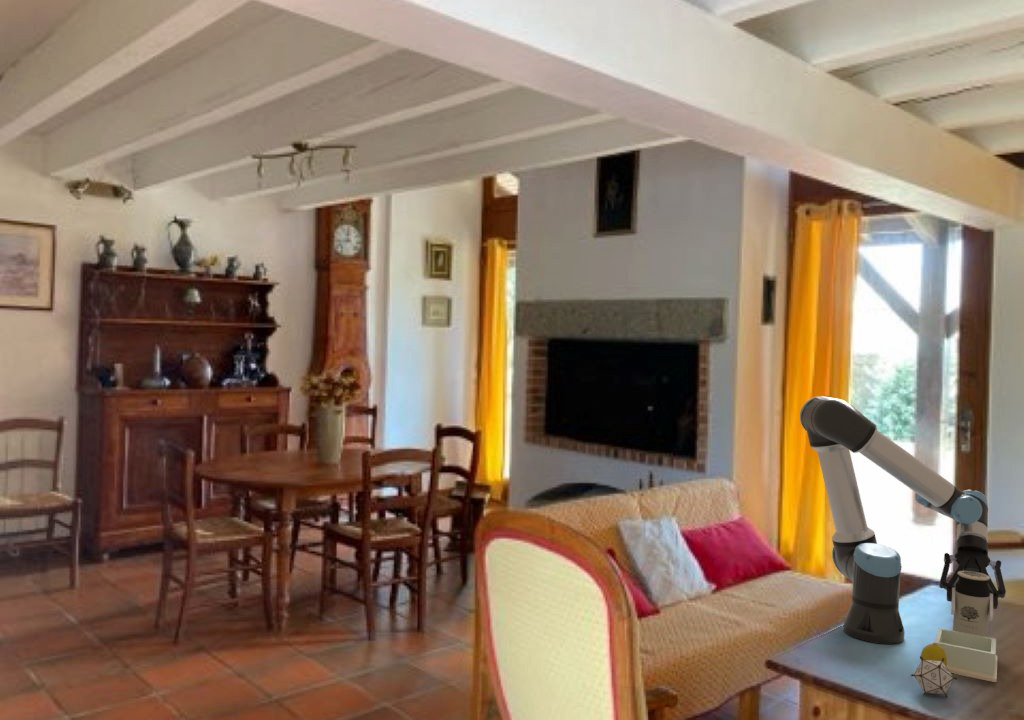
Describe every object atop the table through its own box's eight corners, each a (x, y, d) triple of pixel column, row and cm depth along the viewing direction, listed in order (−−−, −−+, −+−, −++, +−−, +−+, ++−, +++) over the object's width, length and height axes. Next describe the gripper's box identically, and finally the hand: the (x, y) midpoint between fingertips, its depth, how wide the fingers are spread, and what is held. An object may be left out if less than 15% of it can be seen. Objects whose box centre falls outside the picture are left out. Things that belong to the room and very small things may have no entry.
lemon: (923, 669, 204) (925, 637, 204) (948, 676, 200) (950, 643, 200) (917, 676, 199) (919, 642, 199) (942, 683, 196) (944, 649, 196)
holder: (996, 682, 198) (997, 658, 197) (930, 668, 205) (931, 645, 204) (997, 658, 213) (998, 636, 213) (935, 646, 220) (936, 624, 220)
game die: (934, 707, 191) (955, 669, 193) (949, 709, 183) (971, 670, 185) (898, 683, 193) (918, 645, 196) (911, 684, 185) (933, 645, 188)
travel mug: (959, 634, 227) (963, 568, 227) (991, 643, 221) (995, 576, 221) (946, 640, 222) (951, 573, 221) (979, 650, 216) (983, 580, 215)
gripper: (1014, 554, 230) (1016, 630, 216) (929, 543, 239) (926, 614, 225) (1017, 539, 225) (1020, 615, 211) (931, 528, 234) (928, 600, 220)
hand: (971, 615), depth 218 cm, fingers closed on travel mug, 8 cm apart
